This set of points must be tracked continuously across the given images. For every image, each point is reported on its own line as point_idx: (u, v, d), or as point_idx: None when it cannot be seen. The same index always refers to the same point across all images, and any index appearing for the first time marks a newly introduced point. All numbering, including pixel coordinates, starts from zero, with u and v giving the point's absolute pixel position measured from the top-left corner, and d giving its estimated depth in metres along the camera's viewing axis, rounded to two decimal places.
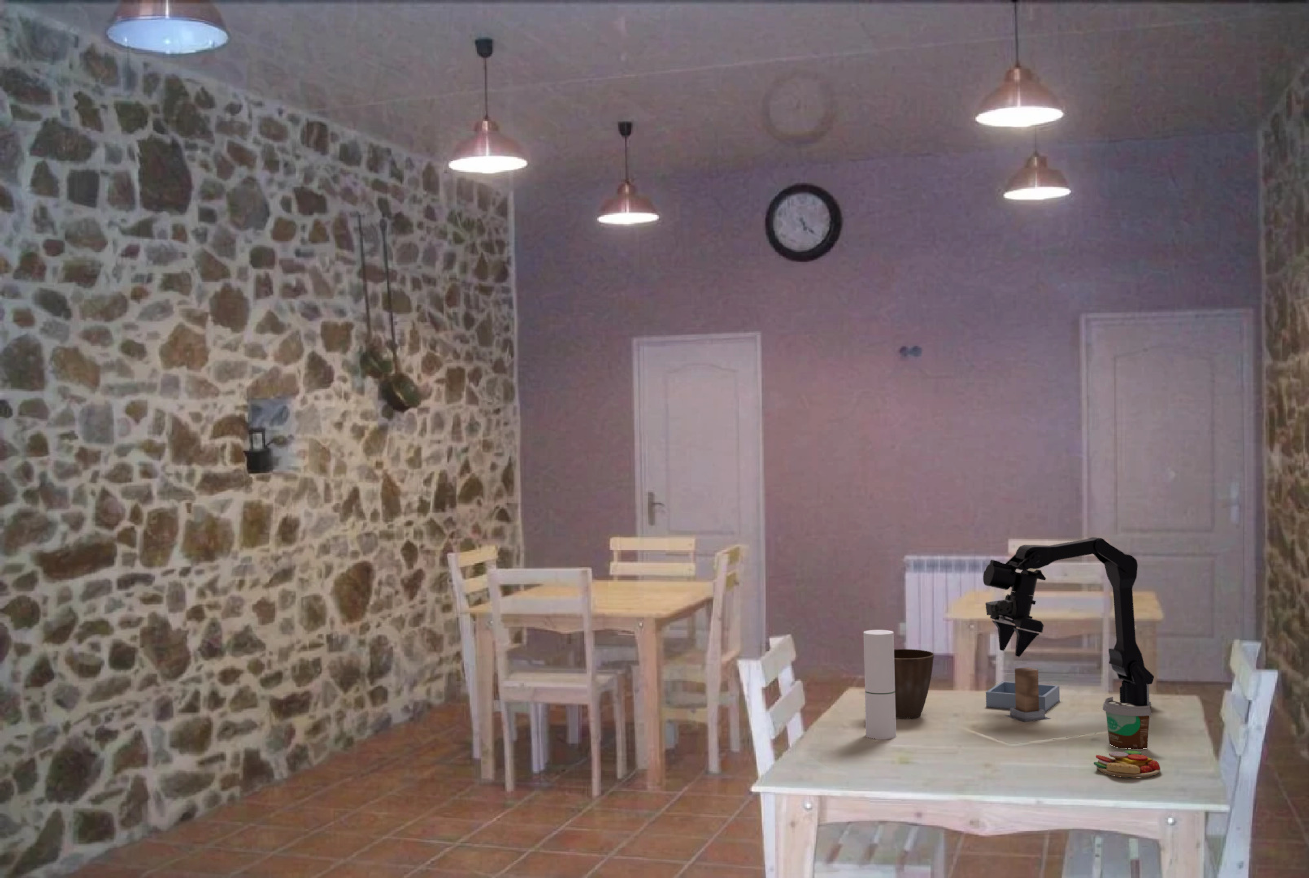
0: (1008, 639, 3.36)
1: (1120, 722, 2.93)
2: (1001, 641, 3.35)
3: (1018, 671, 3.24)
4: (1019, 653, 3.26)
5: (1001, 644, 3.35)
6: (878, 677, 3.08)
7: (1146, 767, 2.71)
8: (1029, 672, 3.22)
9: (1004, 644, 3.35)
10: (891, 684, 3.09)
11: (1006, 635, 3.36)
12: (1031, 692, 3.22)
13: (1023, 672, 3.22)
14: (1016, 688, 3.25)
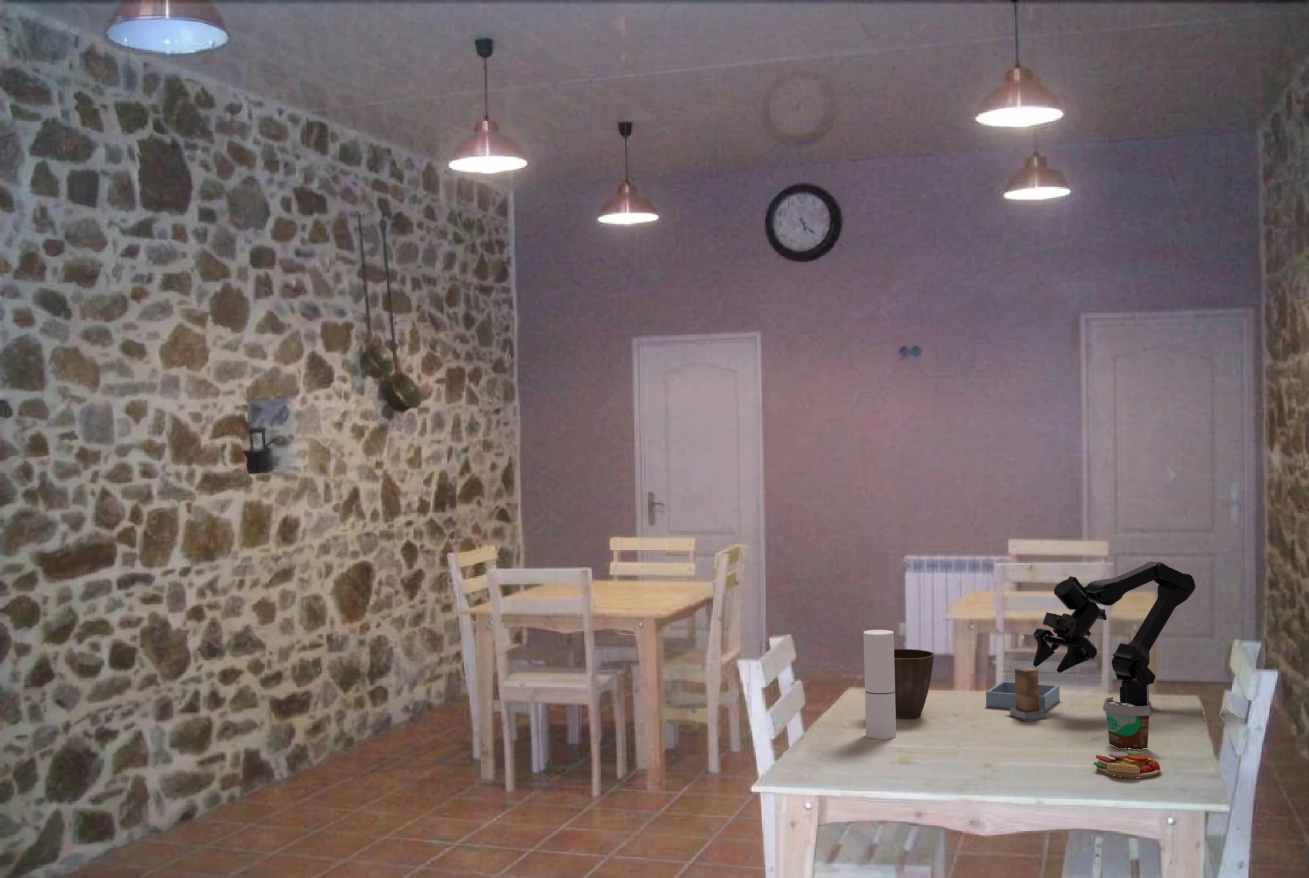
0: (1044, 659, 3.32)
1: (1120, 722, 2.93)
2: (1038, 657, 3.31)
3: (1018, 671, 3.24)
4: (1061, 669, 3.22)
5: (1036, 660, 3.31)
6: (878, 677, 3.08)
7: (1146, 767, 2.71)
8: (1029, 672, 3.22)
9: (1039, 661, 3.31)
10: (891, 684, 3.09)
11: (1043, 654, 3.32)
12: (1031, 692, 3.22)
13: (1023, 672, 3.22)
14: (1016, 688, 3.25)
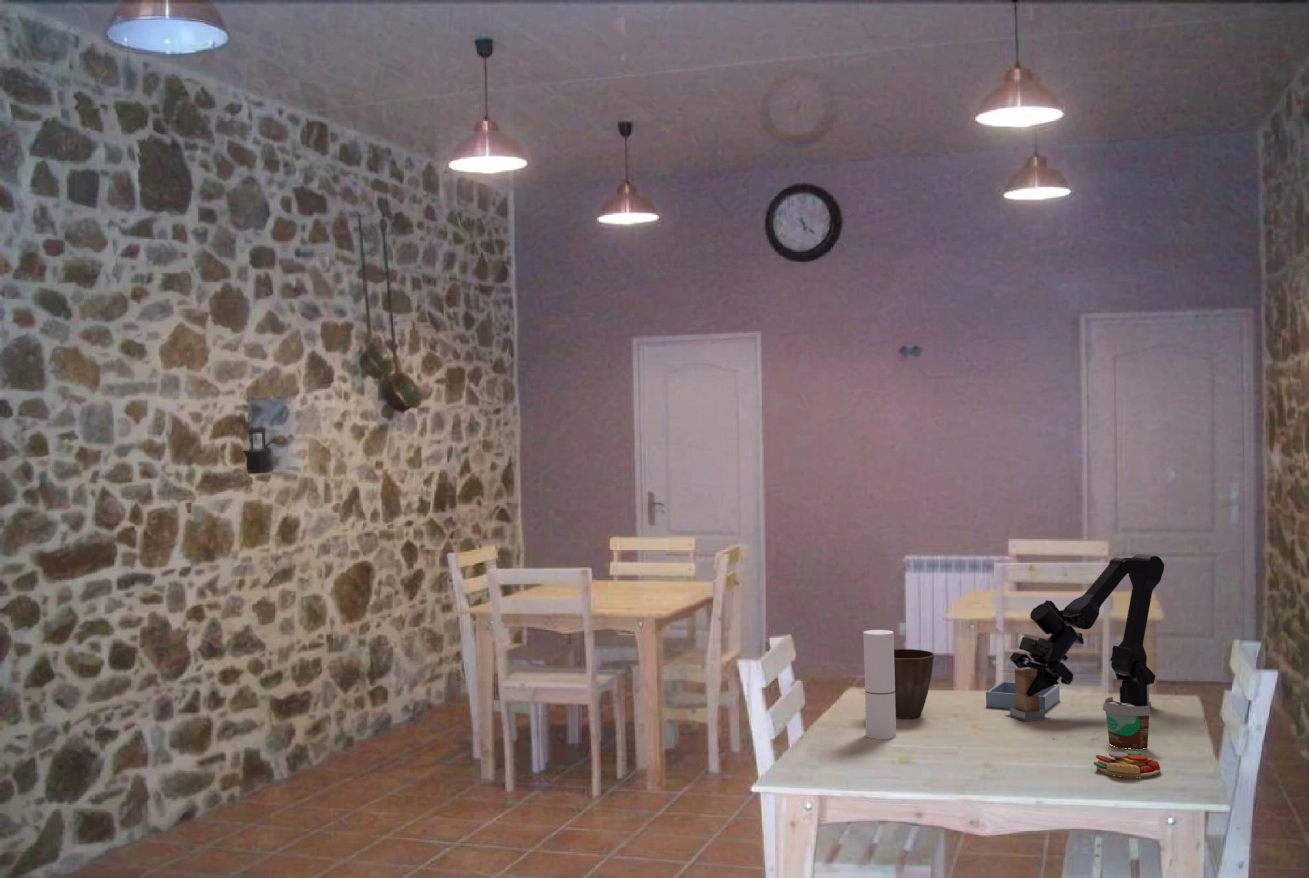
0: None
1: (1120, 722, 2.93)
2: None
3: (1018, 671, 3.24)
4: (1031, 693, 3.22)
5: None
6: (878, 677, 3.08)
7: (1146, 767, 2.71)
8: (1029, 672, 3.22)
9: None
10: (891, 684, 3.09)
11: None
12: None
13: (1023, 672, 3.22)
14: (1016, 688, 3.25)
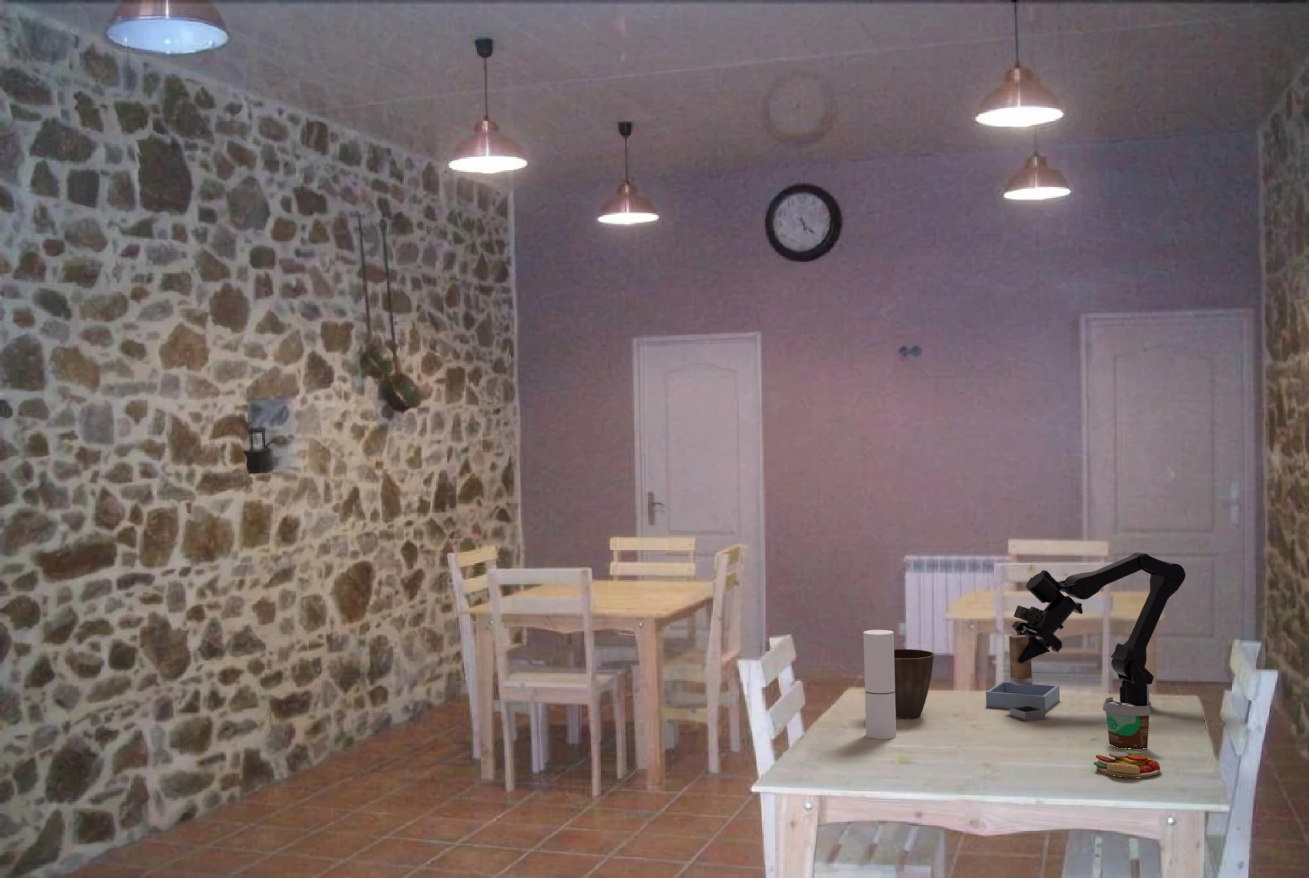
0: None
1: (1120, 722, 2.93)
2: None
3: (1011, 638, 3.32)
4: (1022, 660, 3.29)
5: None
6: (878, 677, 3.08)
7: (1146, 767, 2.71)
8: (1020, 639, 3.30)
9: None
10: (891, 684, 3.09)
11: None
12: None
13: (1014, 639, 3.30)
14: (1010, 655, 3.33)
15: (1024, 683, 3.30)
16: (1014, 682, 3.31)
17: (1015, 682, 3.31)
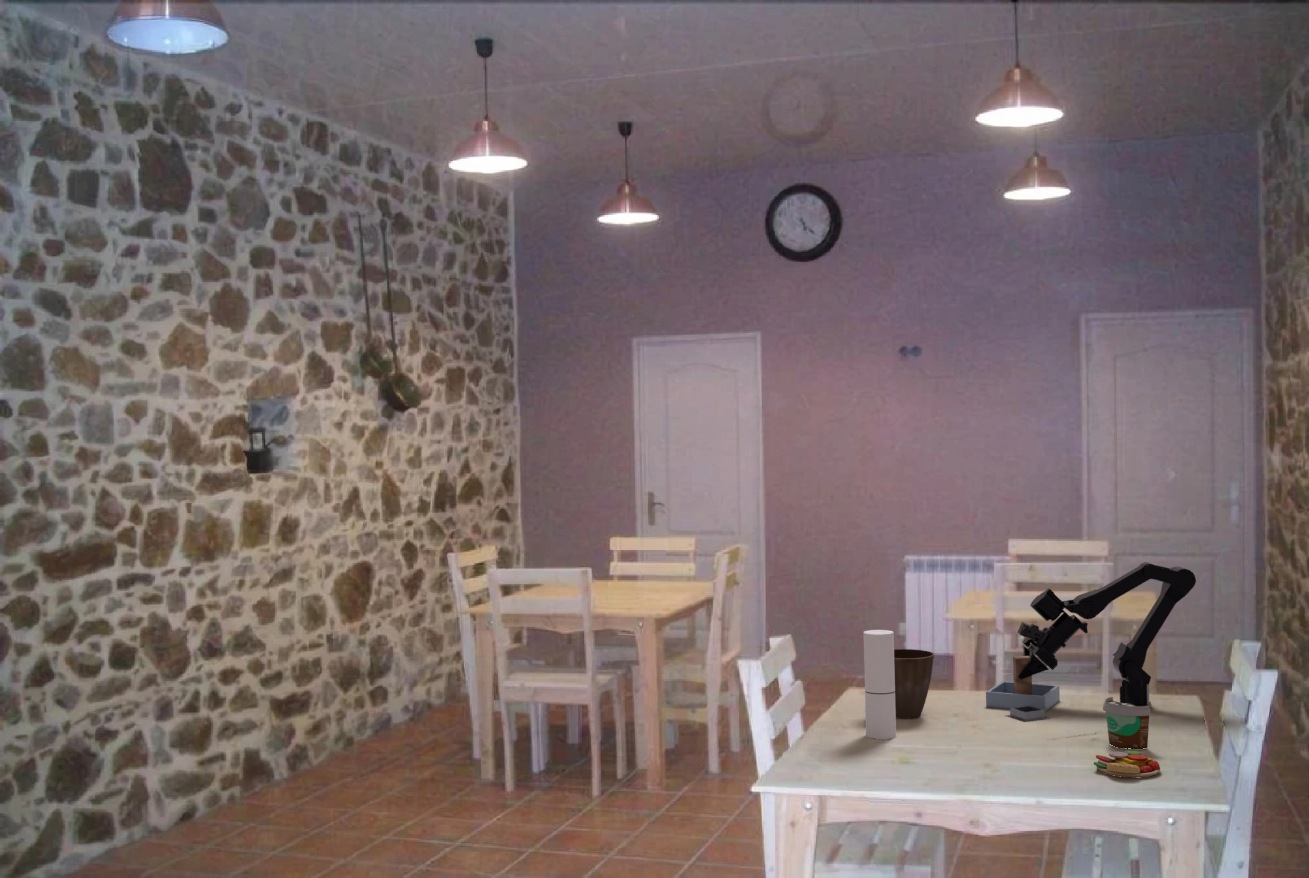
0: None
1: (1120, 722, 2.93)
2: None
3: (1014, 658, 3.40)
4: (1022, 676, 3.36)
5: None
6: (878, 677, 3.08)
7: (1146, 767, 2.71)
8: (1021, 660, 3.38)
9: None
10: (891, 684, 3.09)
11: None
12: (1022, 679, 3.38)
13: (1015, 659, 3.38)
14: (1013, 674, 3.41)
15: None
16: None
17: None
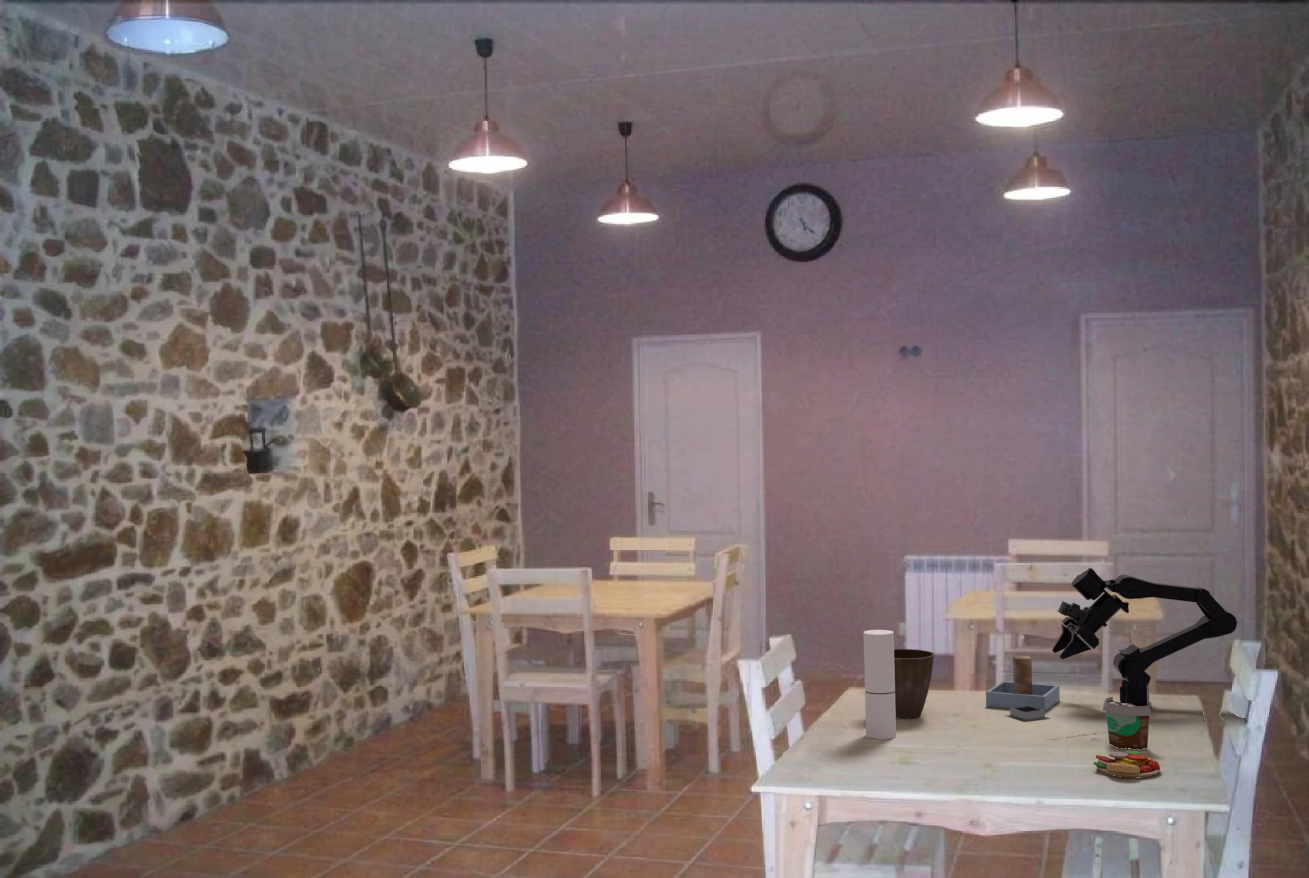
0: (1065, 646, 3.43)
1: (1120, 722, 2.93)
2: (1057, 644, 3.43)
3: (1014, 658, 3.40)
4: (1064, 656, 3.34)
5: (1056, 646, 3.43)
6: (878, 677, 3.08)
7: (1146, 767, 2.71)
8: (1021, 660, 3.38)
9: (1059, 648, 3.43)
10: (891, 684, 3.09)
11: (1065, 642, 3.43)
12: (1022, 679, 3.38)
13: (1015, 659, 3.38)
14: (1013, 674, 3.41)
15: None
16: None
17: None
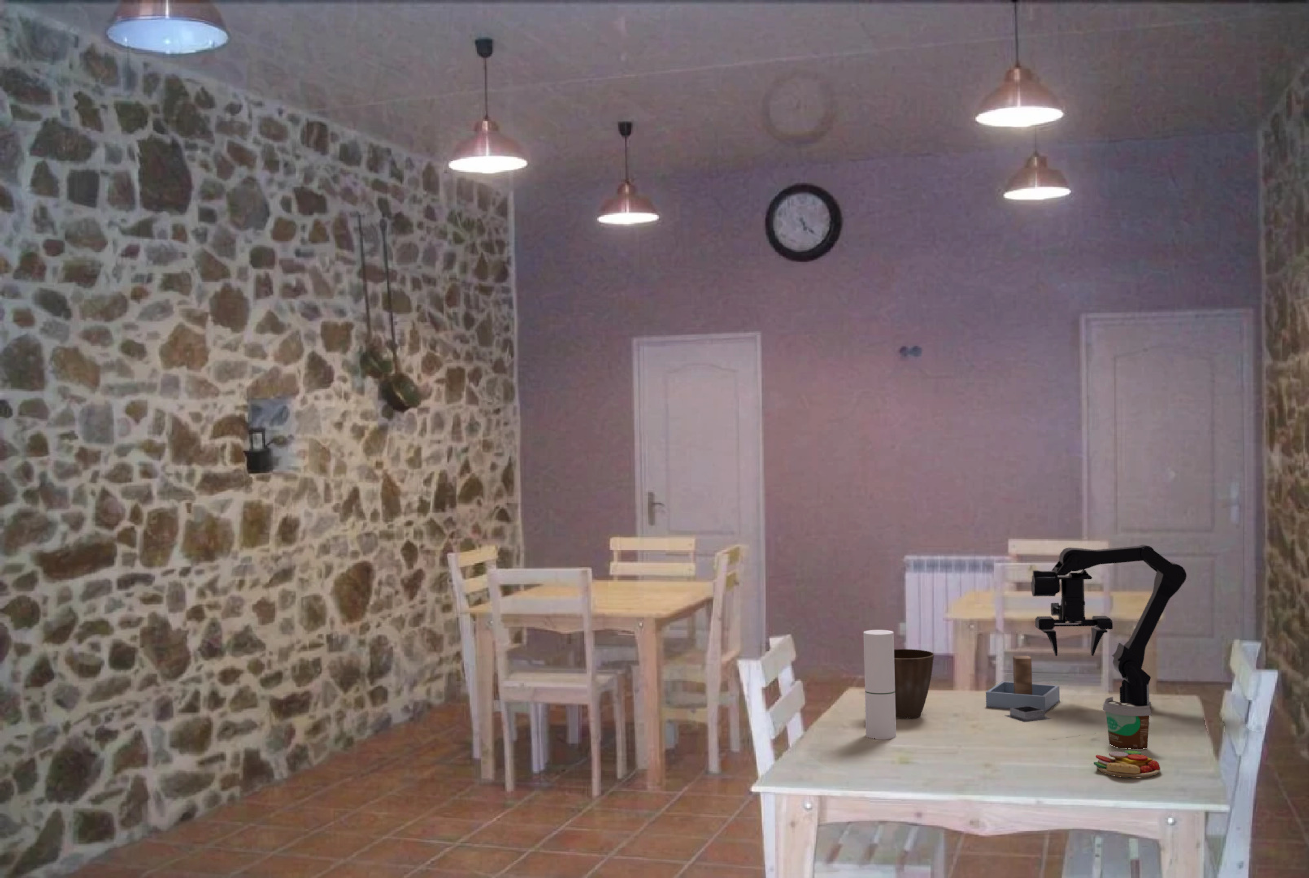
0: (1093, 644, 3.37)
1: (1120, 722, 2.93)
2: (1091, 646, 3.39)
3: (1014, 658, 3.40)
4: (1054, 652, 3.39)
5: None
6: (878, 677, 3.08)
7: (1146, 767, 2.71)
8: (1021, 660, 3.38)
9: (1091, 649, 3.38)
10: (891, 684, 3.09)
11: (1093, 640, 3.38)
12: (1022, 679, 3.38)
13: (1015, 659, 3.38)
14: (1013, 674, 3.41)
15: None
16: None
17: None
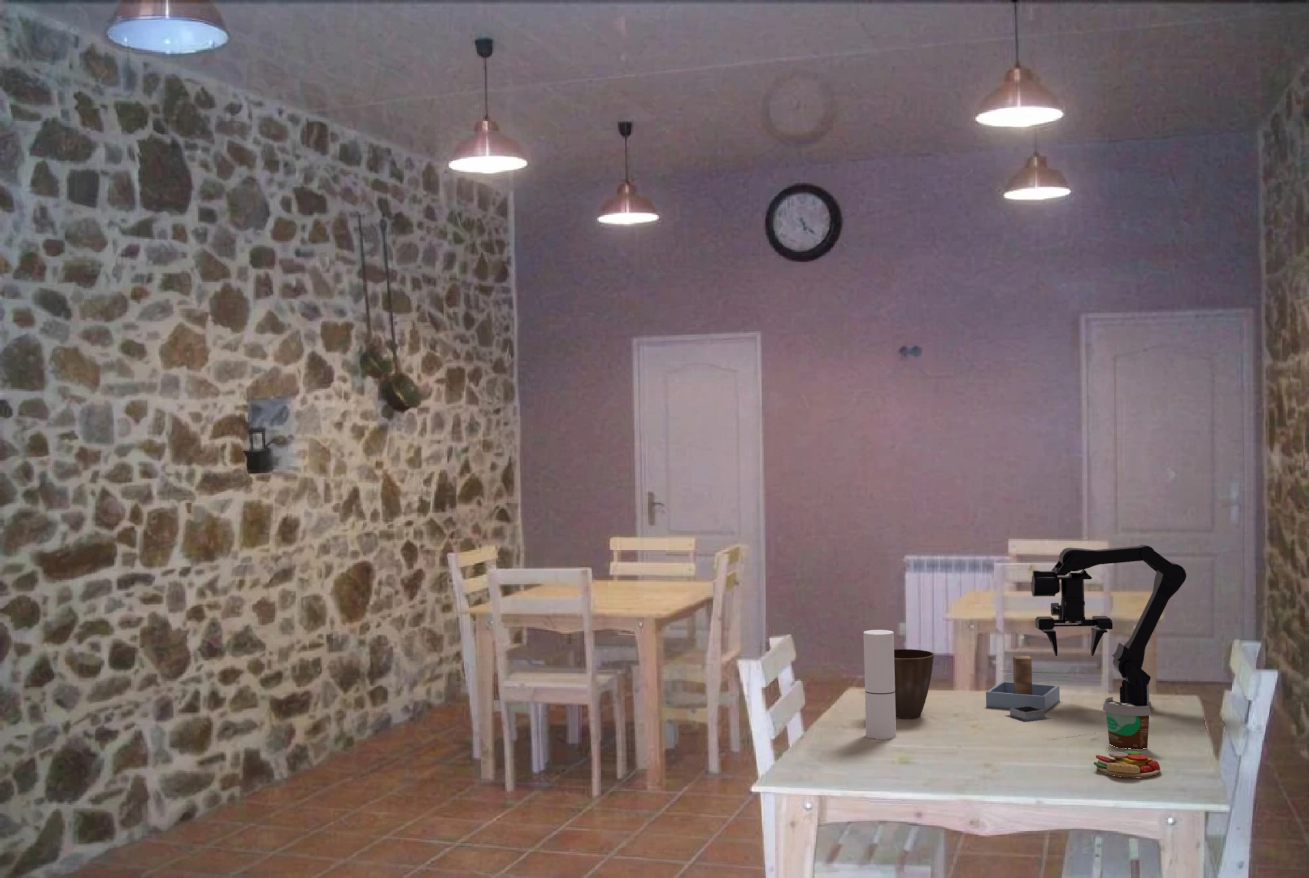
0: (1093, 644, 3.37)
1: (1120, 722, 2.93)
2: (1091, 646, 3.39)
3: (1014, 658, 3.40)
4: (1054, 652, 3.39)
5: None
6: (878, 677, 3.08)
7: (1146, 767, 2.71)
8: (1021, 660, 3.38)
9: (1091, 649, 3.38)
10: (891, 684, 3.09)
11: (1093, 640, 3.38)
12: (1022, 679, 3.38)
13: (1015, 659, 3.38)
14: (1013, 674, 3.41)
15: None
16: None
17: None
